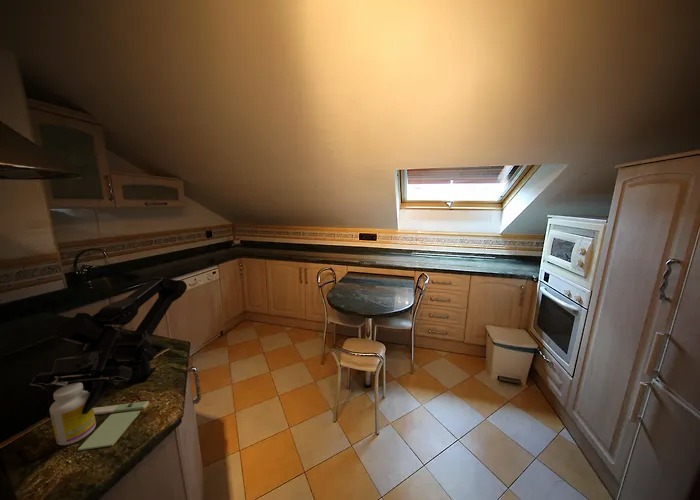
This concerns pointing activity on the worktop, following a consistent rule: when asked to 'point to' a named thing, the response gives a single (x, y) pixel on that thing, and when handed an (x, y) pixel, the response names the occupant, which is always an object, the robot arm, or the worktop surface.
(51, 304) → the worktop surface
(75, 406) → the supplement bottle
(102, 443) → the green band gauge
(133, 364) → the robot arm
